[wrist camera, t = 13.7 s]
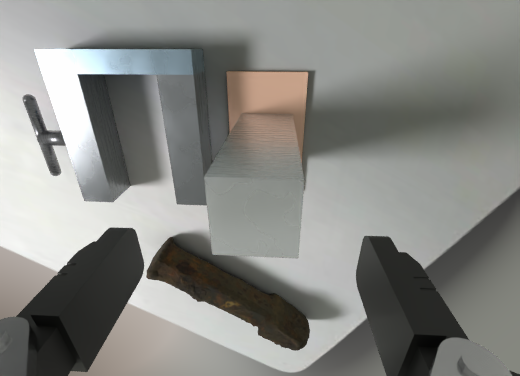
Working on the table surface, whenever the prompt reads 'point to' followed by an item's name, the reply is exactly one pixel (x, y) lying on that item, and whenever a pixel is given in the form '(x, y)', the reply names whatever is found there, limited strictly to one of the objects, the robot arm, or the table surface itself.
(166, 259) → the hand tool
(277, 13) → the table surface
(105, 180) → the vise
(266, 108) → the mat
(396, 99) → the table surface
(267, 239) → the steel bar
